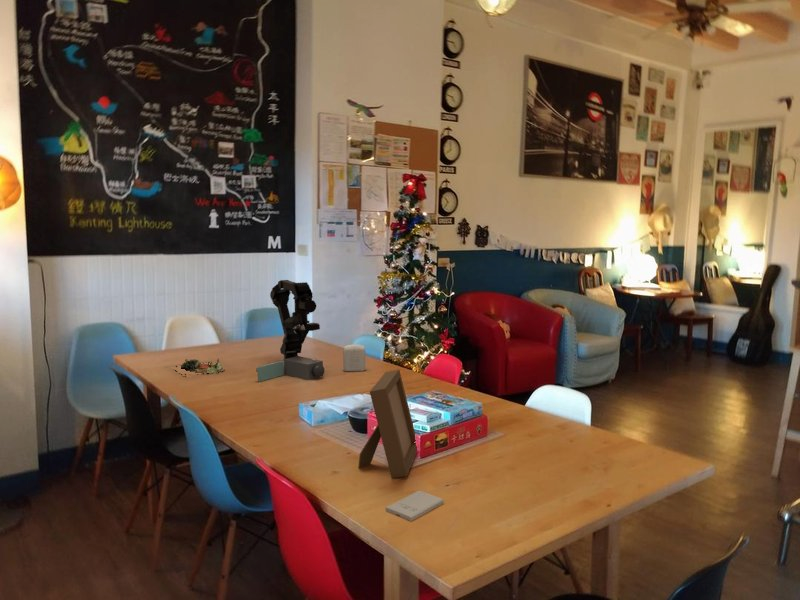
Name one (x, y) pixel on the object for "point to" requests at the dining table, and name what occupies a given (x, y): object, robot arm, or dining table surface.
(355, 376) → the dining table surface
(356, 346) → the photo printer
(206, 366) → the plated dish
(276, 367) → the grey-green bar
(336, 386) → the dining table surface
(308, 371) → the large grey box
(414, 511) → the external hard drive
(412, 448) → the photo frame
